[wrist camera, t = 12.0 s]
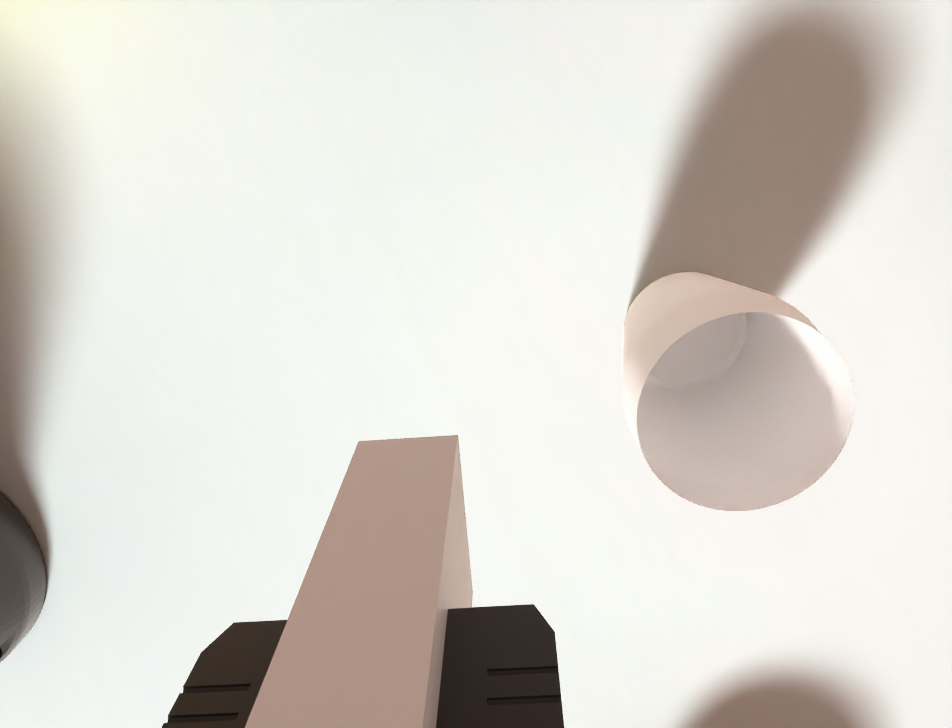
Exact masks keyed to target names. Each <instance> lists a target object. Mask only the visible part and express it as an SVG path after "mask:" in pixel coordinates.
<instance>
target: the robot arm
mask: <svg viewBox="0 0 952 728" xmlns="http://www.w3.org/2000/svg"><path fill="white" fill-rule="evenodd" d="M45 591H46V575H45V567H44V562H43V558H42V554H41V551H40V549H39V546H38V543H37V541H36V539H35V537H34V535H33V533H32V531H31V529H30V528H29V526H28V524H27V523H26V521H25V520H24V518H23V517H22V516H21V514H20V513H19V512H18V511H17V509H16V508H15V507H14V506H13V505H12V504H11V503H10V502H9V501H8V499H7V498H6V497H4V496H3V495H2V494H1V493H0V662H1V661H3V660H4V659H5V658H6V657H7V656H8V655H9V654H10V653H11V652H12V650H13V649H14V648H15V647H16V646H17V645H18V644H19V642H20V641H21V640H22V639H23V638H24V637H25V636H26V634H27V633H28V632H29V631H30V630H31V628H32V627H33V625H34V624H35V622H36V620H37V619H38V616H39V614H40V612H41V609H42V606H43V602H44V598H45ZM183 688H184V690H183V693H180V694H179V696H178V698H177V700H176V702H175V703H174V705H173V707H172V709H171V711H170V713H169V715H168V722H167V723H164V724H163V726H162V728H564V722H563V712H562V702H561V692H560V682H559V673H558V662H557V652H556V642H555V632H554V631H553V629H552V628H551V627H550V625H549V624H548V623H547V621H546V620H545V619H544V617H543V616H542V615H541V613H540V612H539V611H538V610H537V608H536V607H535V606H534V604H533V605H513V606H494V607H474V608H472V581H471V570H470V560H469V549H468V539H467V528H466V517H465V507H464V496H463V485H462V475H461V464H460V453H459V443H458V435H453V436H437V437H421V438H405V439H389V440H373V441H359V442H358V444H357V447H356V449H355V452H354V454H353V457H352V459H351V462H350V464H349V467H348V469H347V472H346V475H345V477H344V480H343V482H342V485H341V487H340V490H339V492H338V495H337V497H336V500H335V502H334V505H333V507H332V510H331V512H330V515H329V517H328V520H327V522H326V525H325V527H324V530H323V532H322V535H321V537H320V540H319V542H318V545H317V547H316V550H315V552H314V555H313V557H312V560H311V562H310V565H309V568H308V570H307V573H306V575H305V578H304V580H303V583H302V585H301V588H300V590H299V593H298V595H297V598H296V600H295V603H294V605H293V608H292V610H291V613H290V615H289V618H288V620H278V621H258V622H239V623H233V624H232V625H231V626H230V627H229V628H228V629H227V630H225V631H224V632H223V633H222V634H221V635H220V636H219V637H218V638H217V639H216V640H214V641H213V642H212V643H211V644H210V645H209V646H208V647H207V648H206V649H205V650H204V651H202V652H201V654H200V656H199V658H198V660H197V662H196V664H195V666H194V667H193V669H192V671H191V673H190V675H189V677H188V679H187V681H186V683H185V684H184V686H183Z"/></svg>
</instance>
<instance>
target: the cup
mask: <svg viewBox="0 0 952 728" xmlns="http://www.w3.org/2000/svg"><path fill="white" fill-rule="evenodd" d="M622 401H623V408H624V413H625V417H626V421H627V424H628V427H629V429H630V431H631V434H632V436H633V438H634V439H635V441H636V442H637V444H638V446H639V447H640V449H641V451H642V453H643V455H644V457H645V459H646V461H647V463H648V464H649V466H650V468H651V469H652V471H653V472H654V473H655V475H656V476H657V477H658V478H659V479H660V480H661V481H662V482H663V483H664V484H665V485H666V486H667V487H668V488H669V489H671V490H672V491H673V492H675V493H676V494H678V495H679V496H681V497H683V498H685V499H686V500H688V501H690V502H693V503H695V504H698V505H701V506H704V507H708V508H712V509H717V510H726V511H746V510H754V509H760V508H764V507H768V506H771V505H775V504H778V503H780V502H783V501H785V500H787V499H789V498H791V497H793V496H795V495H797V494H799V493H800V492H802V491H803V490H805V489H807V488H808V487H809V486H811V485H812V484H813V483H814V482H816V481H817V480H818V479H819V478H820V477H821V476H822V475H823V474H824V473H825V472H826V471H827V470H828V469H829V468H830V466H831V465H832V464H833V462H834V461H835V460H836V458H837V457H838V455H839V454H840V452H841V450H842V448H843V446H844V444H845V442H846V440H847V437H848V435H849V432H850V429H851V425H852V421H853V415H854V391H853V385H852V381H851V377H850V374H849V371H848V369H847V366H846V364H845V362H844V361H843V359H842V357H841V356H840V354H839V353H838V351H837V350H836V348H835V347H834V346H833V345H832V344H831V343H830V342H829V341H828V340H827V339H826V338H825V337H824V336H823V335H822V334H821V333H820V332H819V331H818V330H817V329H816V327H815V326H814V325H813V324H812V323H811V322H810V320H809V319H808V318H807V317H806V316H805V315H803V314H802V313H801V312H800V311H799V310H797V309H796V308H794V307H793V306H791V305H790V304H788V303H786V302H784V301H783V300H781V299H779V298H777V297H774V296H772V295H769V294H766V293H763V292H760V291H757V290H754V289H751V288H748V287H745V286H742V285H739V284H736V283H732V282H729V281H726V280H723V279H720V278H717V277H714V276H710V275H707V274H703V273H698V272H680V273H674V274H670V275H667V276H665V277H662V278H660V279H658V280H656V281H654V282H653V283H651V284H650V285H648V286H647V287H646V288H645V289H643V290H642V291H641V292H640V293H639V294H638V296H637V297H636V298H635V299H634V301H633V302H632V304H631V305H630V307H629V309H628V311H627V314H626V317H625V320H624V325H623V333H622Z"/></svg>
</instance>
